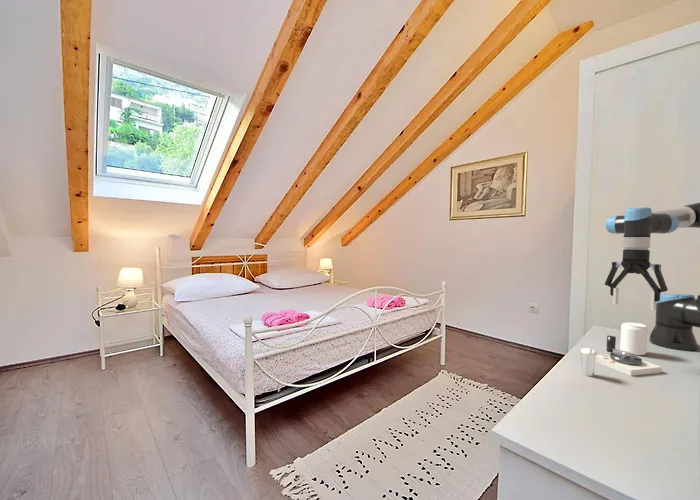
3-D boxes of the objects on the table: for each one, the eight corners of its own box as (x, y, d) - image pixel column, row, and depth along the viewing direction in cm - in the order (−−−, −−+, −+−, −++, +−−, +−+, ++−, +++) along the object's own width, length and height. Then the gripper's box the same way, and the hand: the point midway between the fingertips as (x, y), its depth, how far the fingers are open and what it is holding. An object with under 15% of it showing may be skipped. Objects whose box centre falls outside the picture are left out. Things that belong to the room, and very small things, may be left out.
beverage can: (635, 349, 136) (637, 321, 136) (651, 356, 128) (653, 327, 127) (615, 348, 137) (616, 321, 136) (629, 355, 129) (631, 326, 128)
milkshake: (581, 376, 109) (582, 348, 109) (578, 370, 114) (580, 343, 114) (598, 379, 107) (599, 350, 107) (594, 373, 112) (595, 345, 111)
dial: (648, 363, 115) (649, 344, 115) (628, 365, 113) (629, 346, 113) (616, 352, 126) (617, 334, 126) (598, 354, 124) (598, 336, 124)
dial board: (620, 357, 127) (620, 352, 127) (661, 372, 113) (661, 366, 113) (592, 360, 124) (592, 354, 124) (630, 375, 110) (630, 369, 110)
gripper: (682, 249, 112) (679, 312, 113) (603, 247, 131) (601, 300, 132) (675, 250, 108) (672, 314, 109) (595, 248, 127) (593, 302, 128)
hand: (633, 307), depth 120 cm, fingers open, 10 cm apart
